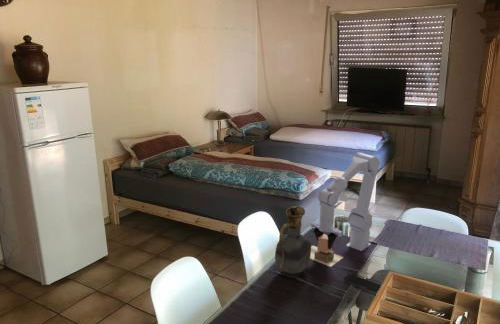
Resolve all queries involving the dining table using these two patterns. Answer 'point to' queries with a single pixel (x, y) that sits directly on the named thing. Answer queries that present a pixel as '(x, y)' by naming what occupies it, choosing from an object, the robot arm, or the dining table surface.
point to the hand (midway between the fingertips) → (324, 246)
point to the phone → (363, 283)
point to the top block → (323, 243)
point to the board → (330, 263)
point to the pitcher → (293, 245)
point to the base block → (324, 256)
